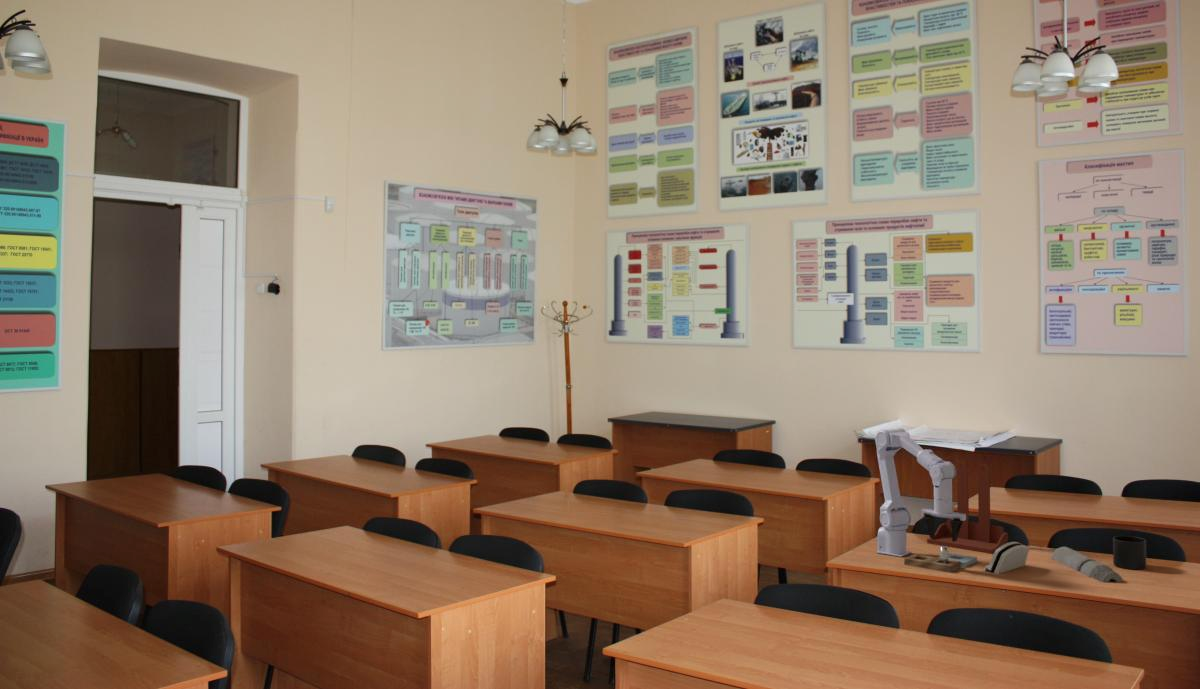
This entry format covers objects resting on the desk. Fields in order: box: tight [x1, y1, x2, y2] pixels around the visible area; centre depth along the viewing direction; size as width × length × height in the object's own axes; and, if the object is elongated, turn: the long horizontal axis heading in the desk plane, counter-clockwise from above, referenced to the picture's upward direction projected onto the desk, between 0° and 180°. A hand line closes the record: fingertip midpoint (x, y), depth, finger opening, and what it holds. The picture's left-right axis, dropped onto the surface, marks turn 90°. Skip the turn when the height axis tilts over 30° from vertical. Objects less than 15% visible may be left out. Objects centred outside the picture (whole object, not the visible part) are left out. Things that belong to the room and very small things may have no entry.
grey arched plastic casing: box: [983, 541, 1030, 575], centre depth 309 cm, size 17×5×10 cm, turn 126°
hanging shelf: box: [926, 460, 1009, 555], centre depth 342 cm, size 24×13×30 cm, turn 43°
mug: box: [1112, 535, 1147, 571], centre depth 310 cm, size 9×12×9 cm
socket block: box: [937, 551, 978, 568], centre depth 319 cm, size 10×10×2 cm
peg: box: [939, 545, 949, 564], centre depth 312 cm, size 3×3×7 cm
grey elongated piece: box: [1050, 546, 1124, 583], centre depth 307 cm, size 9×4×30 cm
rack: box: [903, 553, 962, 573], centre depth 315 cm, size 16×8×2 cm, turn 46°
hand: (943, 539), depth 312 cm, fingers open, 7 cm apart
